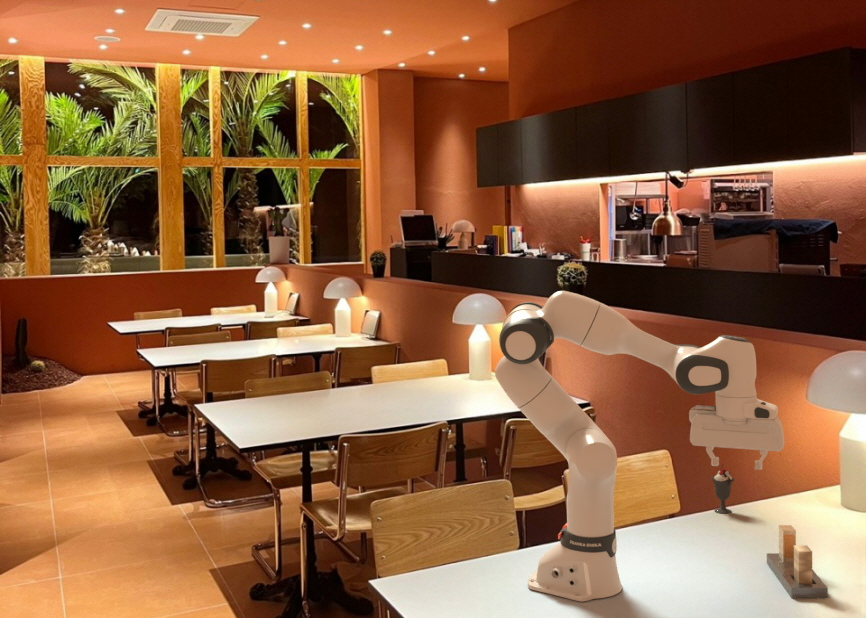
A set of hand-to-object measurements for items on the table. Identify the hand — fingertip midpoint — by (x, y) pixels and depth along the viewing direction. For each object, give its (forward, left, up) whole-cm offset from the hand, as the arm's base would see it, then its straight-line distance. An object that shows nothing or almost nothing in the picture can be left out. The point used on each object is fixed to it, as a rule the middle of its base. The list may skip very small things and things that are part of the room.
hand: (736, 467), depth 201 cm
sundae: (-13, +65, -31) cm, 73 cm away
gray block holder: (+11, +17, -31) cm, 37 cm away
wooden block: (+13, +11, -31) cm, 36 cm away
